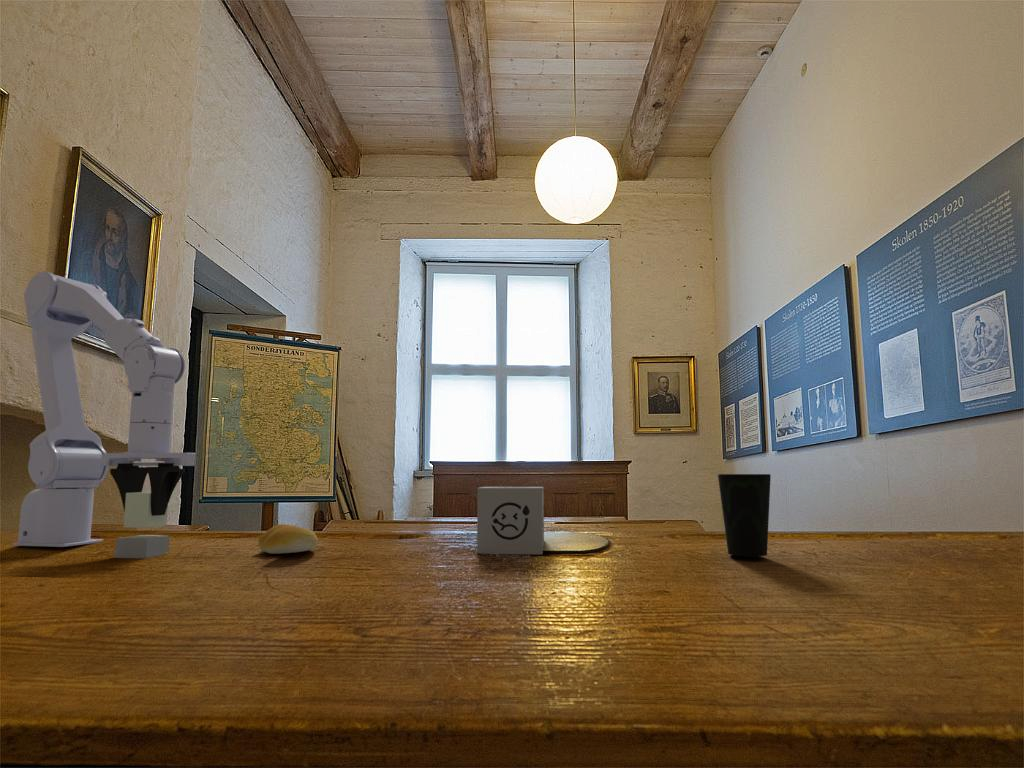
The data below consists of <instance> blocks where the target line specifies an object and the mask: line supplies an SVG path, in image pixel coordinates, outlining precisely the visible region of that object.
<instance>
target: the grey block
mask: <svg viewBox="0 0 1024 768" xmlns="http://www.w3.org/2000/svg"><path fill="white" fill-rule="evenodd" d="M169 547H170V535H161V534H157V535H155V534H140V535H137V534H136V535H131V536H124V537H117V538H115V547H114V548H115V549H114V558H115V559H150V558H156V556H157V557H160V556H159V555H161V554H163V553H166V552H168V553H169Z"/></svg>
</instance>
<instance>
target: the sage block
mask: <svg viewBox="0 0 1024 768" xmlns="http://www.w3.org/2000/svg"><path fill="white" fill-rule="evenodd" d="M168 506H169V505H168ZM168 506H167V509H166V512H165V515H157V516H152V514H151V491H148V492H147V491H145V492H144V491H142V492H137V493H126V502H125V513H124V514H123V515H124V519H123V528H140V529H141V528H144V529H146V528H159V527H167V525H168V524H167V522H168Z"/></svg>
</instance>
